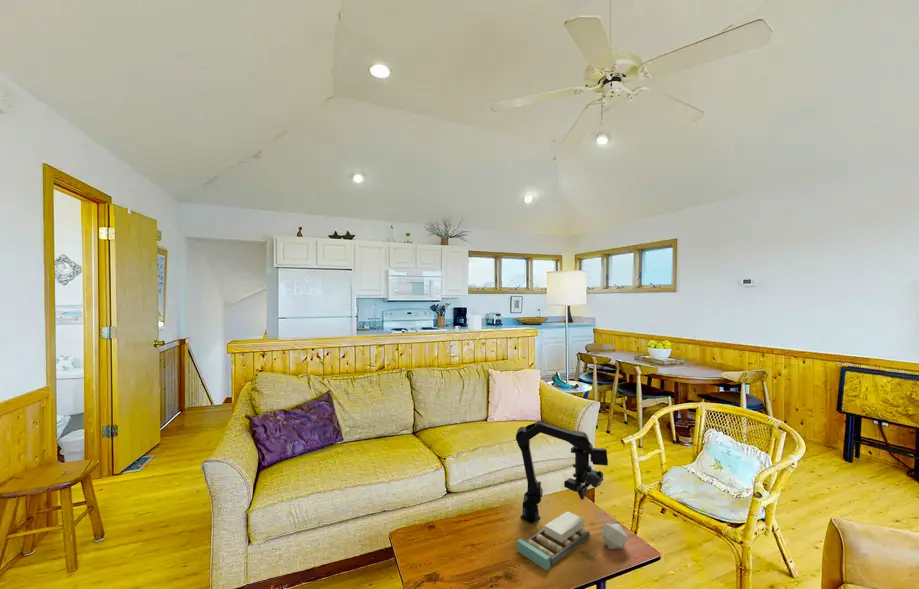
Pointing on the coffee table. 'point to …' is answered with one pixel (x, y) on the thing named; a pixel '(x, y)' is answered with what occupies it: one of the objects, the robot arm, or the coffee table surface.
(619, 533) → the die
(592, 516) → the coffee table surface
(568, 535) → the slab
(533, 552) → the stop bar
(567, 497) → the coffee table surface
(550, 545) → the roller bed
